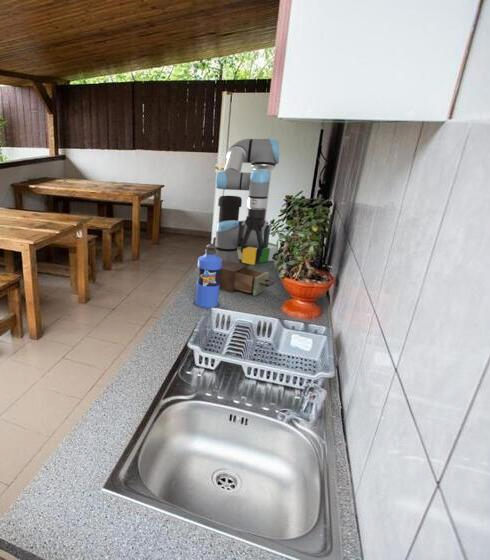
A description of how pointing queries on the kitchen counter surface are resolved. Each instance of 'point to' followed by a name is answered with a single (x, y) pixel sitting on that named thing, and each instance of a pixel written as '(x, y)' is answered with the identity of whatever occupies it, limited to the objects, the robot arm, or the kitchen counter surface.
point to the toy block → (249, 255)
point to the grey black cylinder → (228, 209)
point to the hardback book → (266, 254)
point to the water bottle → (208, 278)
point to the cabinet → (229, 275)
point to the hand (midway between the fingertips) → (250, 261)
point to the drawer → (251, 281)
